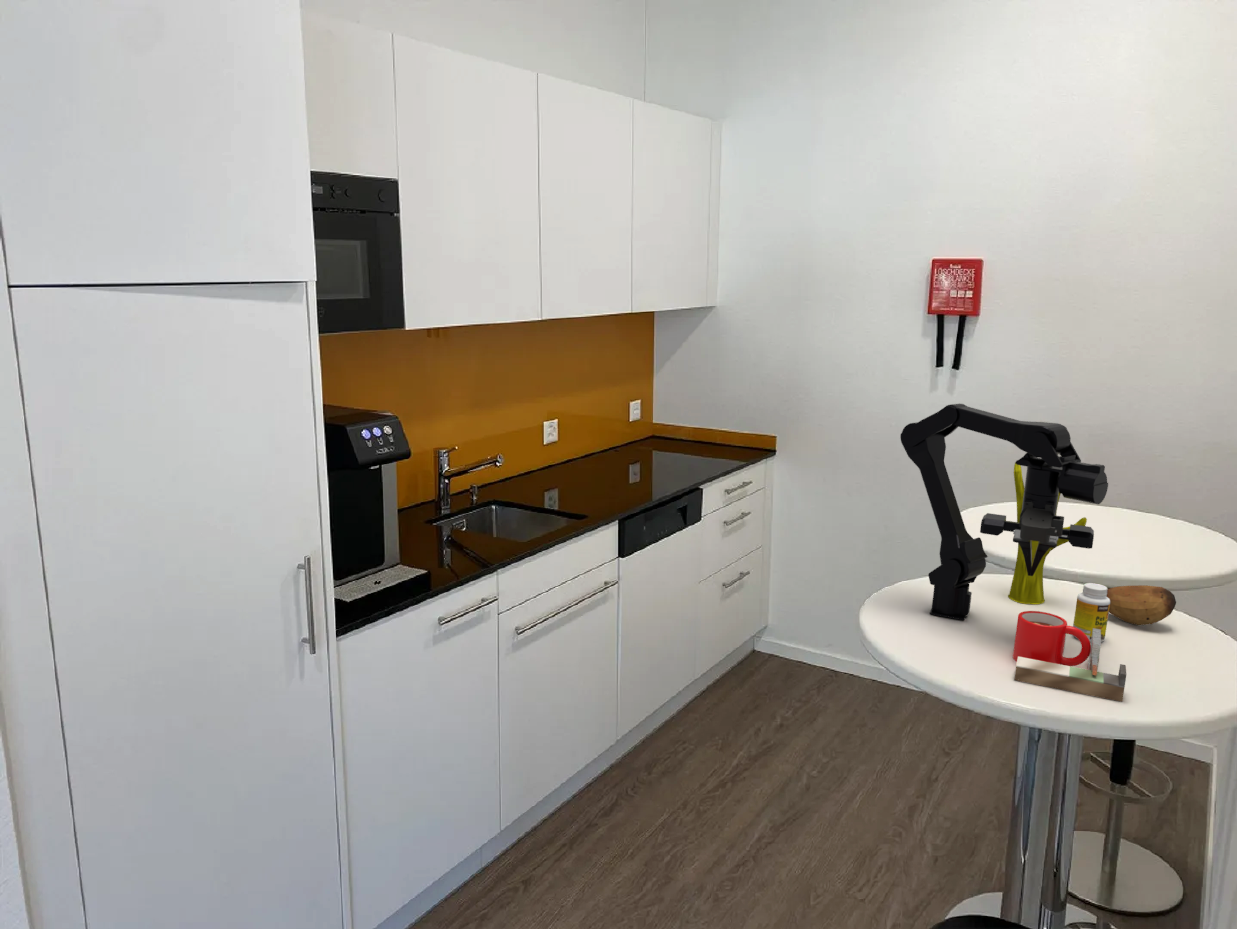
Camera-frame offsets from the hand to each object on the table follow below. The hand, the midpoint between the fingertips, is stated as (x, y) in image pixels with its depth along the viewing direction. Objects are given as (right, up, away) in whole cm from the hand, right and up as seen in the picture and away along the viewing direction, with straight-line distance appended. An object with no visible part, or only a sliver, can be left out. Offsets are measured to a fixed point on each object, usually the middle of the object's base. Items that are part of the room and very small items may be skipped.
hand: (1030, 575), depth 176 cm
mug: (-1, -14, -10) cm, 17 cm away
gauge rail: (-2, -16, -19) cm, 25 cm away
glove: (+11, -8, +23) cm, 27 cm away
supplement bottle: (+12, -12, +3) cm, 17 cm away
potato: (+25, -11, +12) cm, 30 cm away
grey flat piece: (+4, -15, -15) cm, 22 cm away
